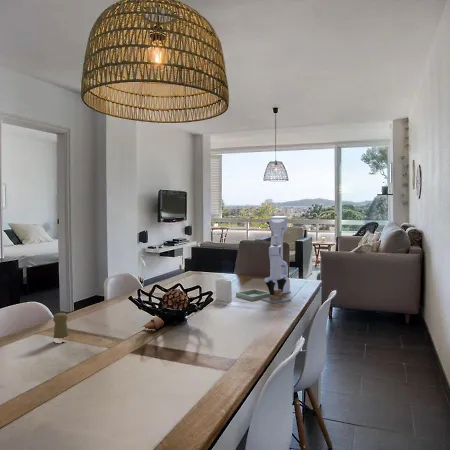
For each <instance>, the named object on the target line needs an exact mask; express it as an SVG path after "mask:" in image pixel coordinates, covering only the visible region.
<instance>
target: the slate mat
mask: <svg viewBox="0 0 450 450" xmlns="http://www.w3.org/2000/svg"><path fill="white" fill-rule="evenodd" d="M261 301H262V302H263V301H264V302H268V303H271V304H274V305H280V304H284V303H285V304H286V303H289V302H292V298H287V297H283V296H282V299H280V300H273V299H270V297H268V298H263V299H261Z"/></svg>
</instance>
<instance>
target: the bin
mask: <svg viewBox="0 0 450 450" xmlns="http://www.w3.org/2000/svg"><path fill="white" fill-rule="evenodd" d="M235 297H237V298H241V299H243V300H248V301H252V302H254V301H258V300H262V299H264V298H268V297H270V292H269V291H266V290H261V289H257V288H252V289H247V290H242V291H236V292H235Z"/></svg>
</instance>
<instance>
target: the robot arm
mask: <svg viewBox="0 0 450 450" xmlns="http://www.w3.org/2000/svg"><path fill="white" fill-rule="evenodd" d="M269 227H270V230H271V231H272V232H273V235H272V236H271V237H270V246H269V247H268V256H269V264H270V265H269V272H270V275H269V276H268V277H264V283H265V285H266V287H267V289H268V292H270V295H274V288H276V289H280V290H282V295H284V294H286V293H287V294H288V293H291V288H290V287H291V285H290V278H289V277H288V276H289V267H288V263H287V262H286V261H285V260H284V244H283V243H284V233H285V232H287V231H288V230H287V229H288V217H287V215H282V216H281V215H279V216H278V215H277V216H270V217H269Z"/></svg>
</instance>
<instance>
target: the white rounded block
mask: <svg viewBox="0 0 450 450" xmlns="http://www.w3.org/2000/svg"><path fill="white" fill-rule="evenodd" d="M232 290H233V289H232V281H231V280H229V279H228V278H225V277H218V278H216V280H215V299H216V300H217V301H221V302H225V303H231V302H232V300H233V296H232V295H233V294H232V293H233V292H232Z"/></svg>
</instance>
